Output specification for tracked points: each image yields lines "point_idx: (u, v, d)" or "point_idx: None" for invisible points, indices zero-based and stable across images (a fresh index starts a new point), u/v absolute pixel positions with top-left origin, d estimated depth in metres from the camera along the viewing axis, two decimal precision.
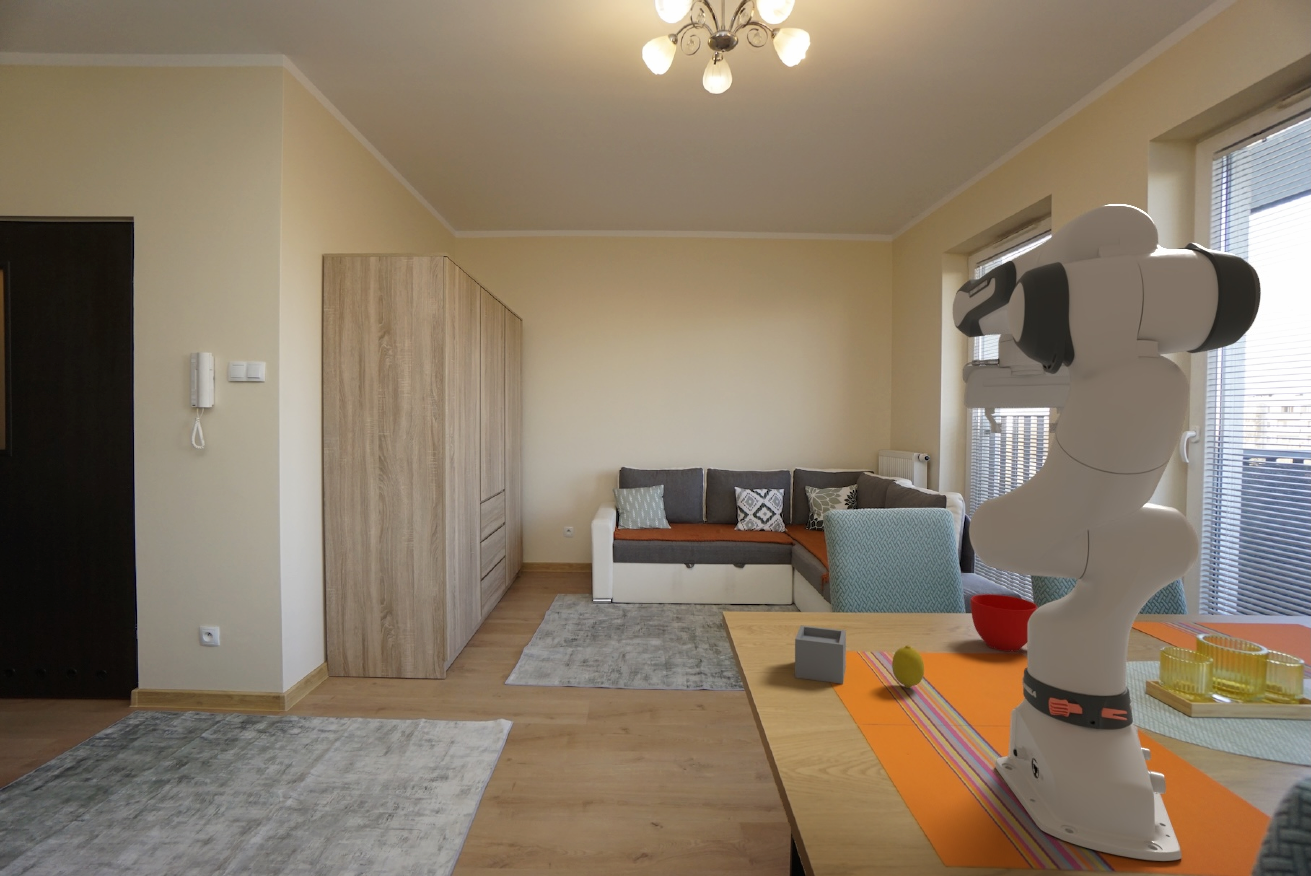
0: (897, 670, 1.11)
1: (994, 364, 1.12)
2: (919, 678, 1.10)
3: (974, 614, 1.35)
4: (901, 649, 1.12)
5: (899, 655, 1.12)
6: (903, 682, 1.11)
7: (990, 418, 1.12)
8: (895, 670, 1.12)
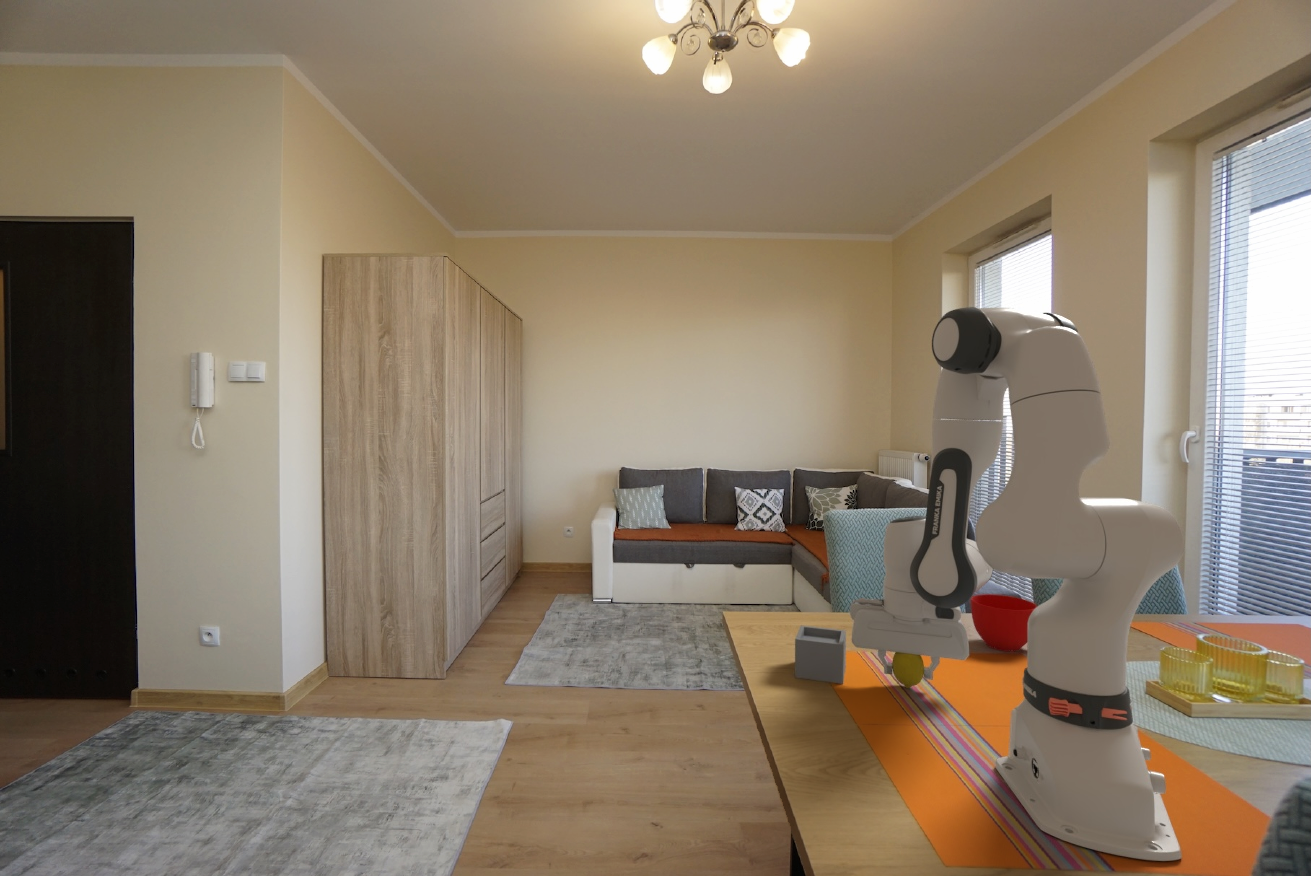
0: (897, 670, 1.11)
1: (879, 605, 1.14)
2: (919, 678, 1.10)
3: (974, 614, 1.35)
4: None
5: (899, 655, 1.12)
6: (903, 682, 1.11)
7: (882, 660, 1.13)
8: (895, 670, 1.12)
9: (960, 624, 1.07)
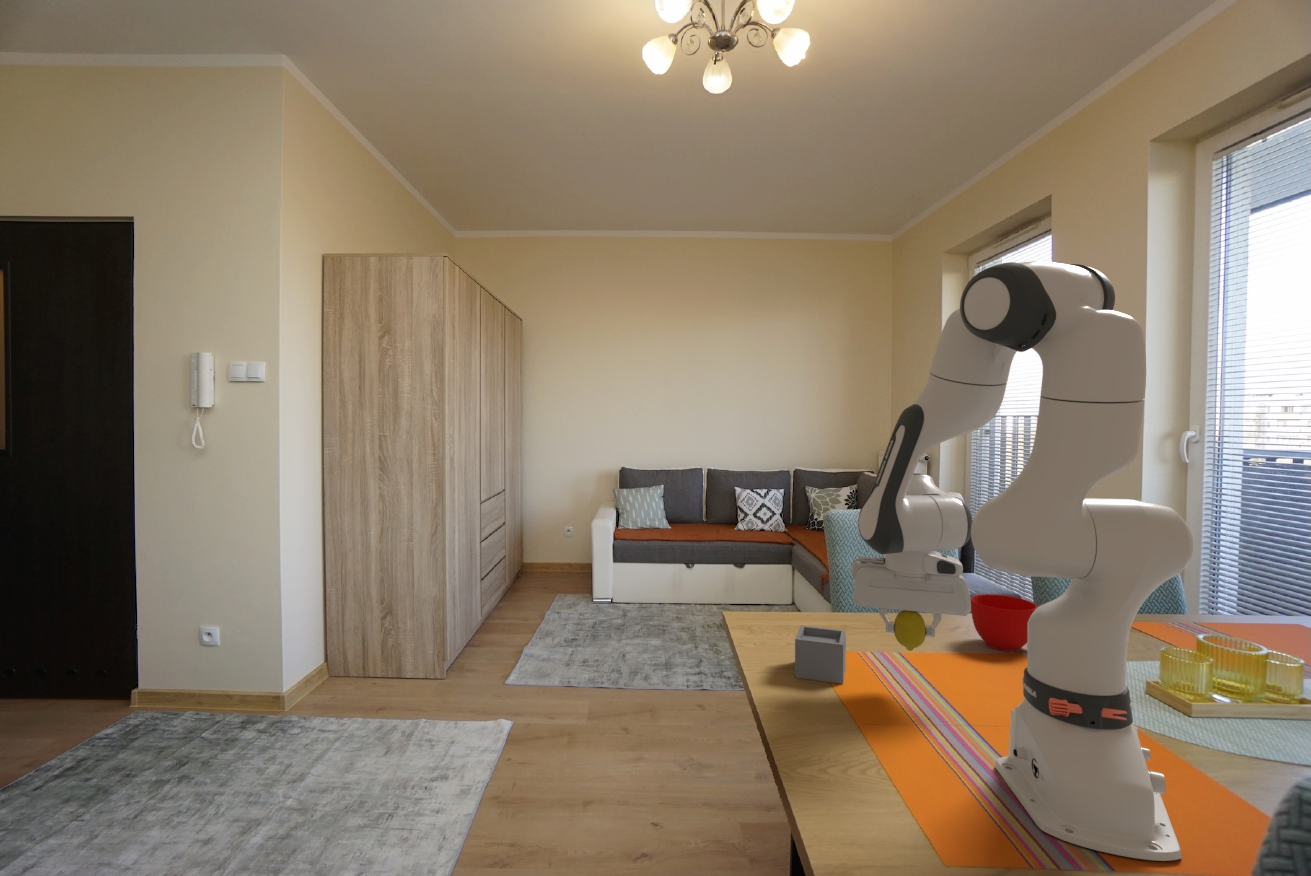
0: (899, 631, 1.11)
1: (880, 563, 1.14)
2: (921, 639, 1.10)
3: (974, 614, 1.35)
4: (903, 611, 1.12)
5: (900, 617, 1.11)
6: (905, 644, 1.11)
7: (883, 618, 1.13)
8: (897, 632, 1.11)
9: (962, 579, 1.07)
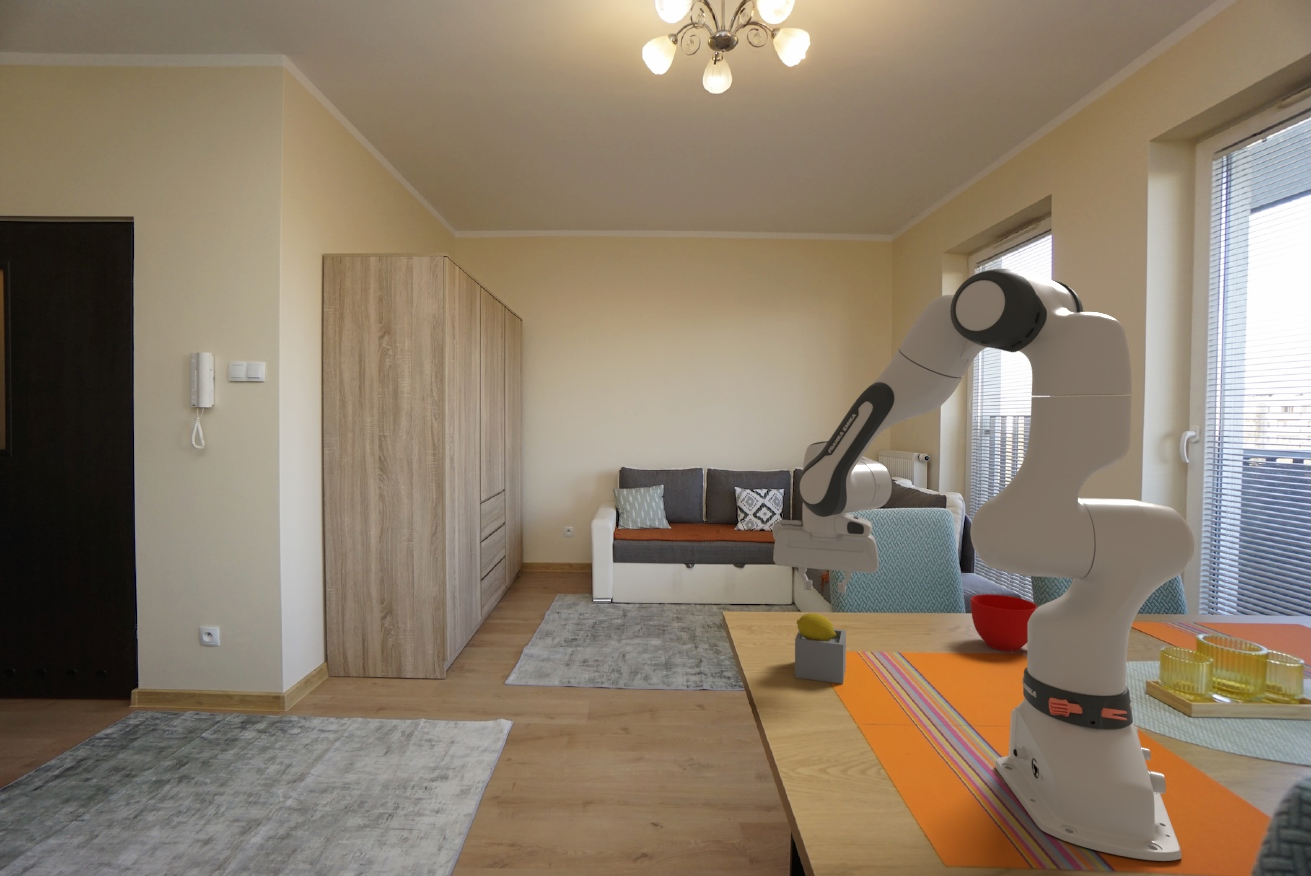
0: None
1: (798, 526, 1.21)
2: (826, 624, 1.17)
3: (974, 614, 1.35)
4: (798, 628, 1.19)
5: (802, 633, 1.18)
6: (827, 639, 1.17)
7: (802, 576, 1.20)
8: None
9: (870, 539, 1.14)
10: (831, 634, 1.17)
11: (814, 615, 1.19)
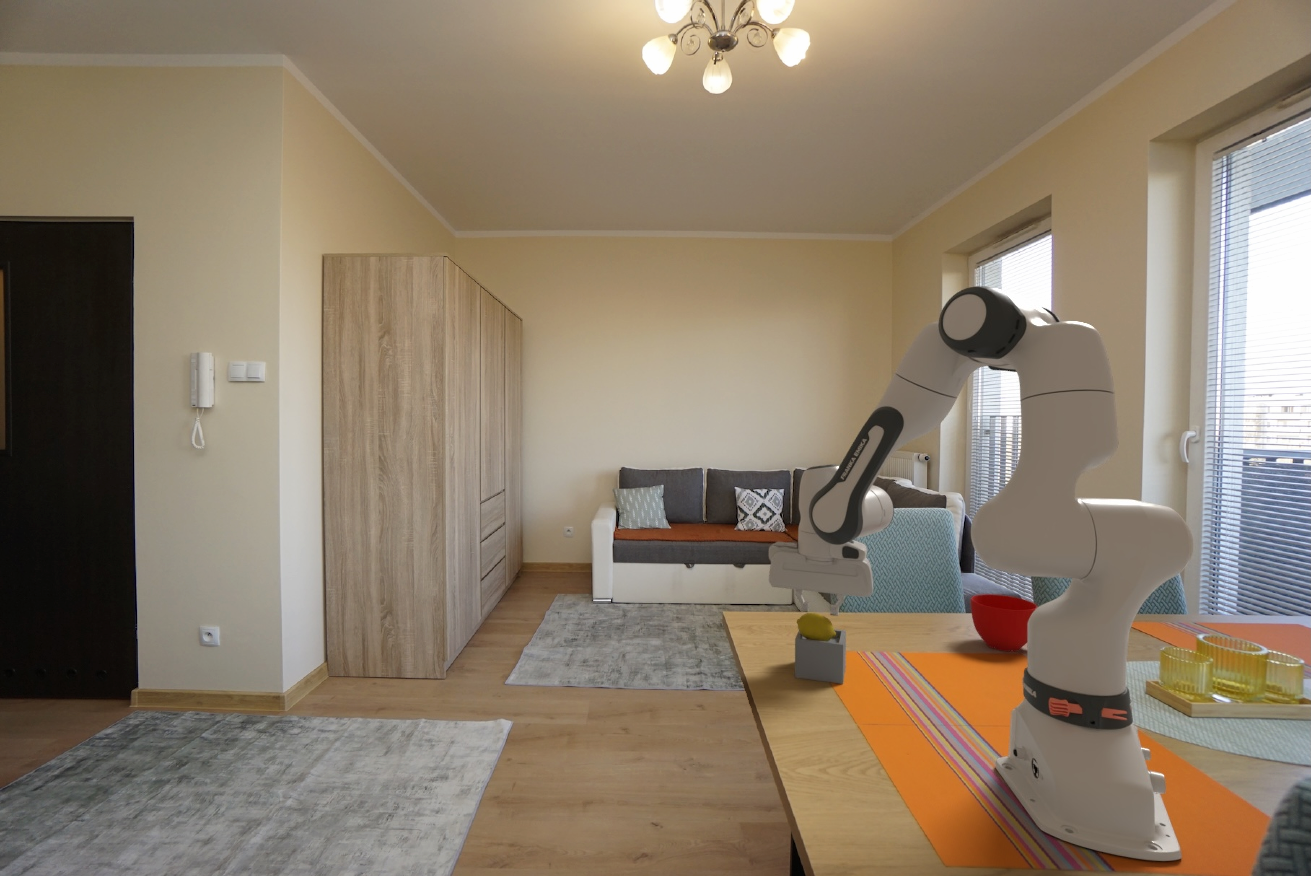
0: (815, 639, 1.17)
1: (794, 548, 1.22)
2: (826, 622, 1.18)
3: (974, 614, 1.35)
4: (798, 628, 1.19)
5: (802, 633, 1.18)
6: (828, 638, 1.17)
7: (798, 598, 1.21)
8: None
9: (864, 563, 1.15)
10: (831, 633, 1.18)
11: (814, 614, 1.19)
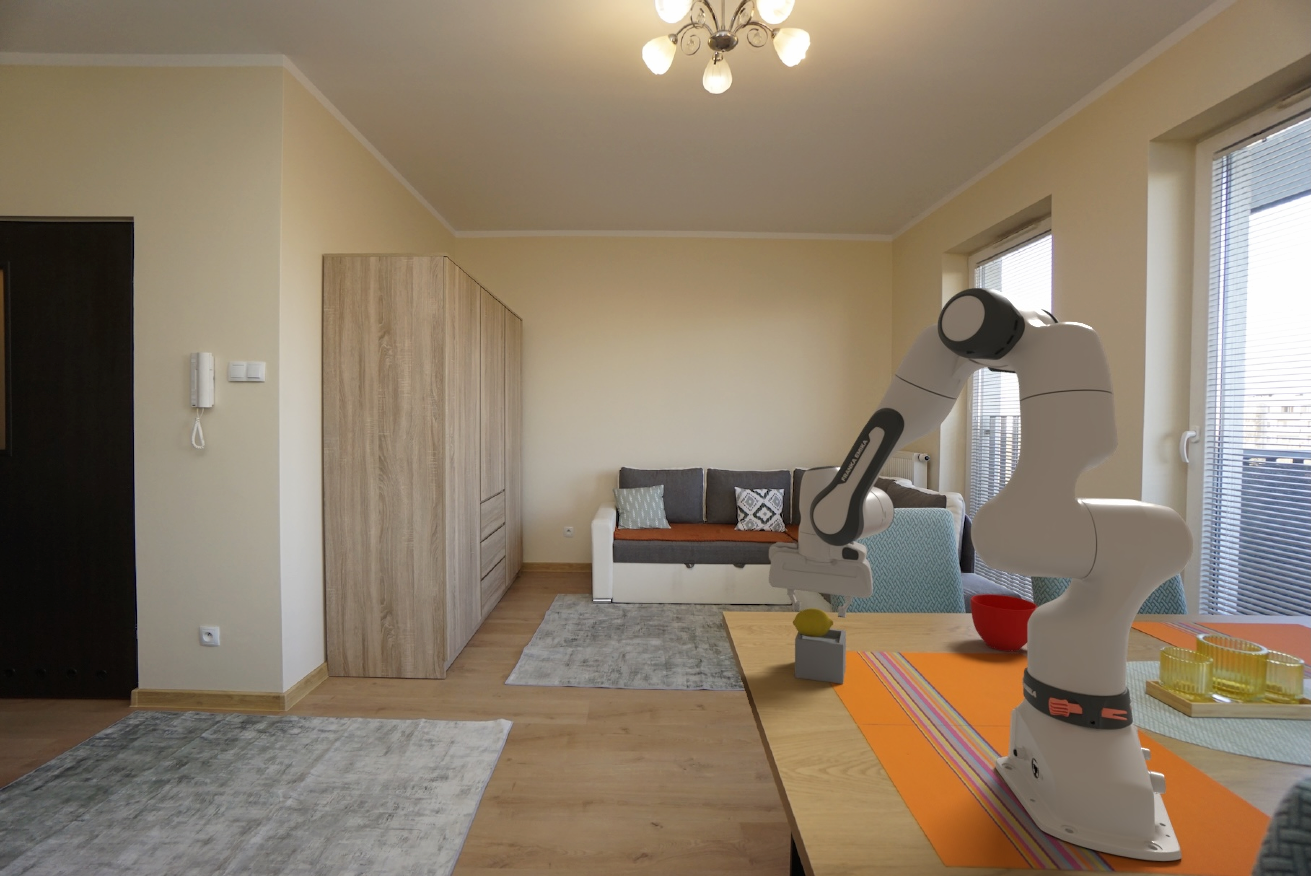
0: (815, 632, 1.17)
1: (794, 548, 1.22)
2: (819, 612, 1.19)
3: (974, 614, 1.35)
4: (797, 628, 1.20)
5: (802, 631, 1.18)
6: (826, 627, 1.18)
7: (790, 598, 1.22)
8: (817, 634, 1.18)
9: (864, 565, 1.15)
10: (828, 621, 1.18)
11: (806, 609, 1.20)
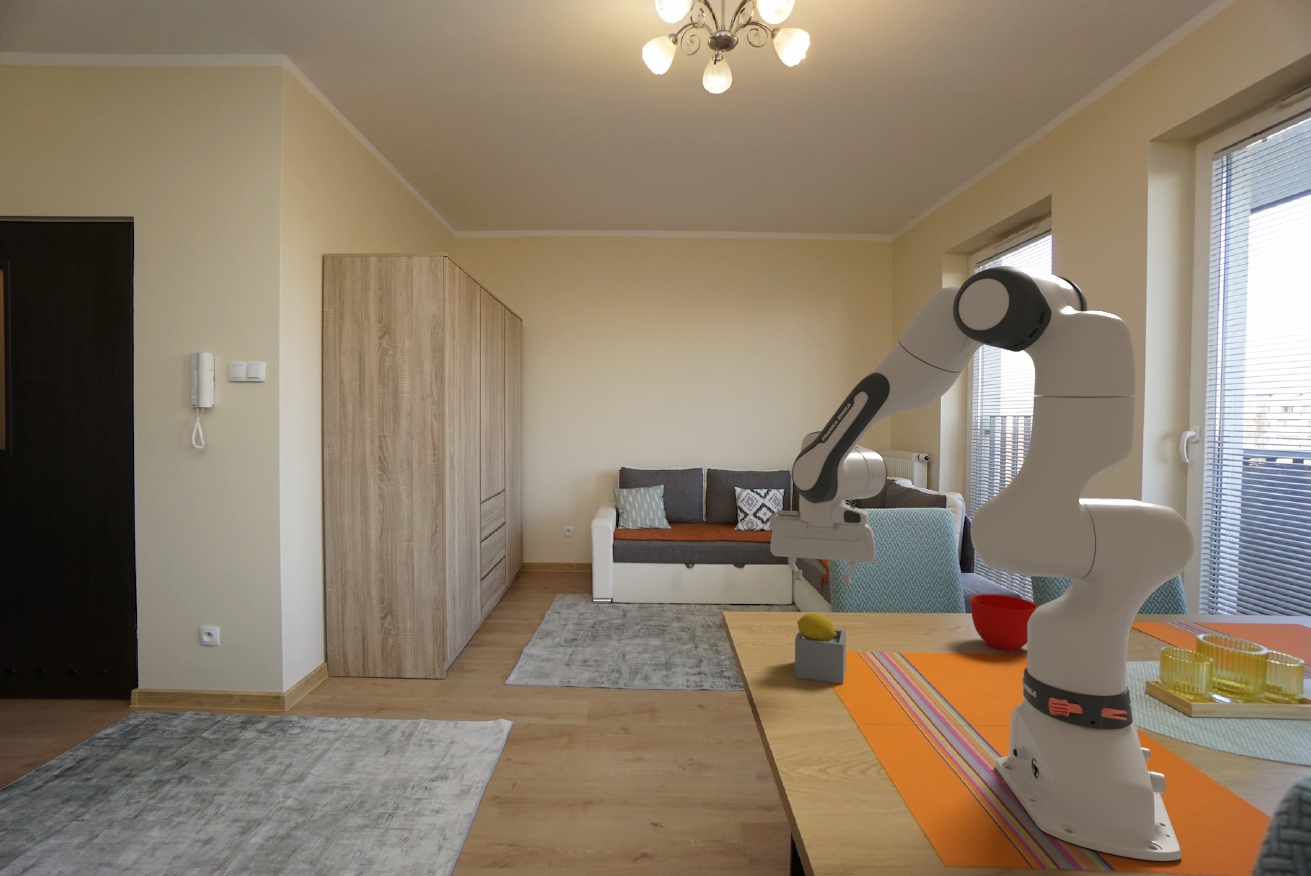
0: None
1: (795, 516, 1.21)
2: (827, 624, 1.17)
3: (974, 614, 1.35)
4: (799, 629, 1.19)
5: (803, 634, 1.18)
6: (828, 639, 1.17)
7: (791, 566, 1.21)
8: None
9: (866, 528, 1.15)
10: (832, 634, 1.17)
11: (815, 615, 1.19)
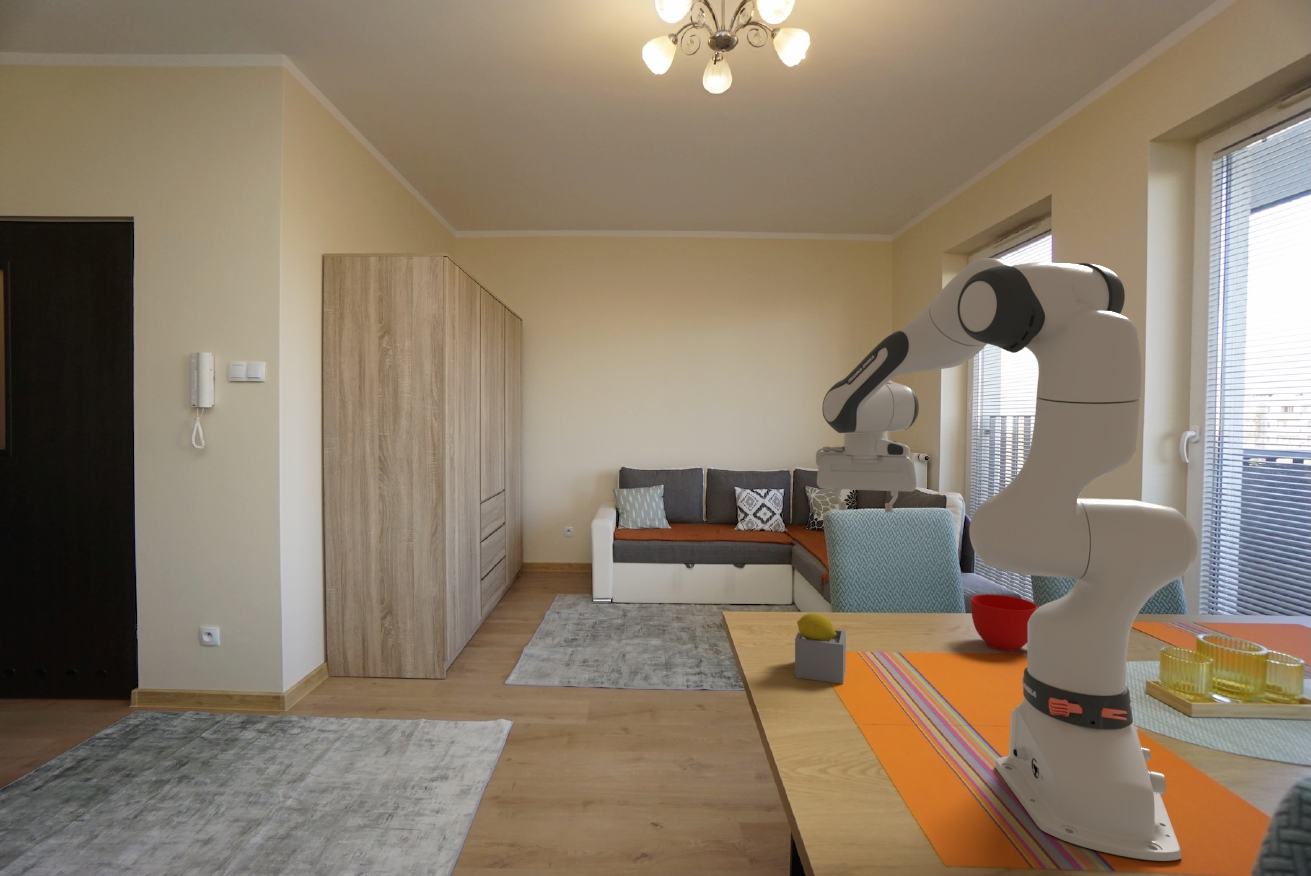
0: None
1: (840, 451, 1.31)
2: (827, 624, 1.17)
3: (974, 614, 1.35)
4: (799, 629, 1.19)
5: (803, 634, 1.18)
6: (828, 639, 1.17)
7: (836, 497, 1.30)
8: None
9: (908, 459, 1.24)
10: (832, 634, 1.17)
11: (815, 615, 1.19)
